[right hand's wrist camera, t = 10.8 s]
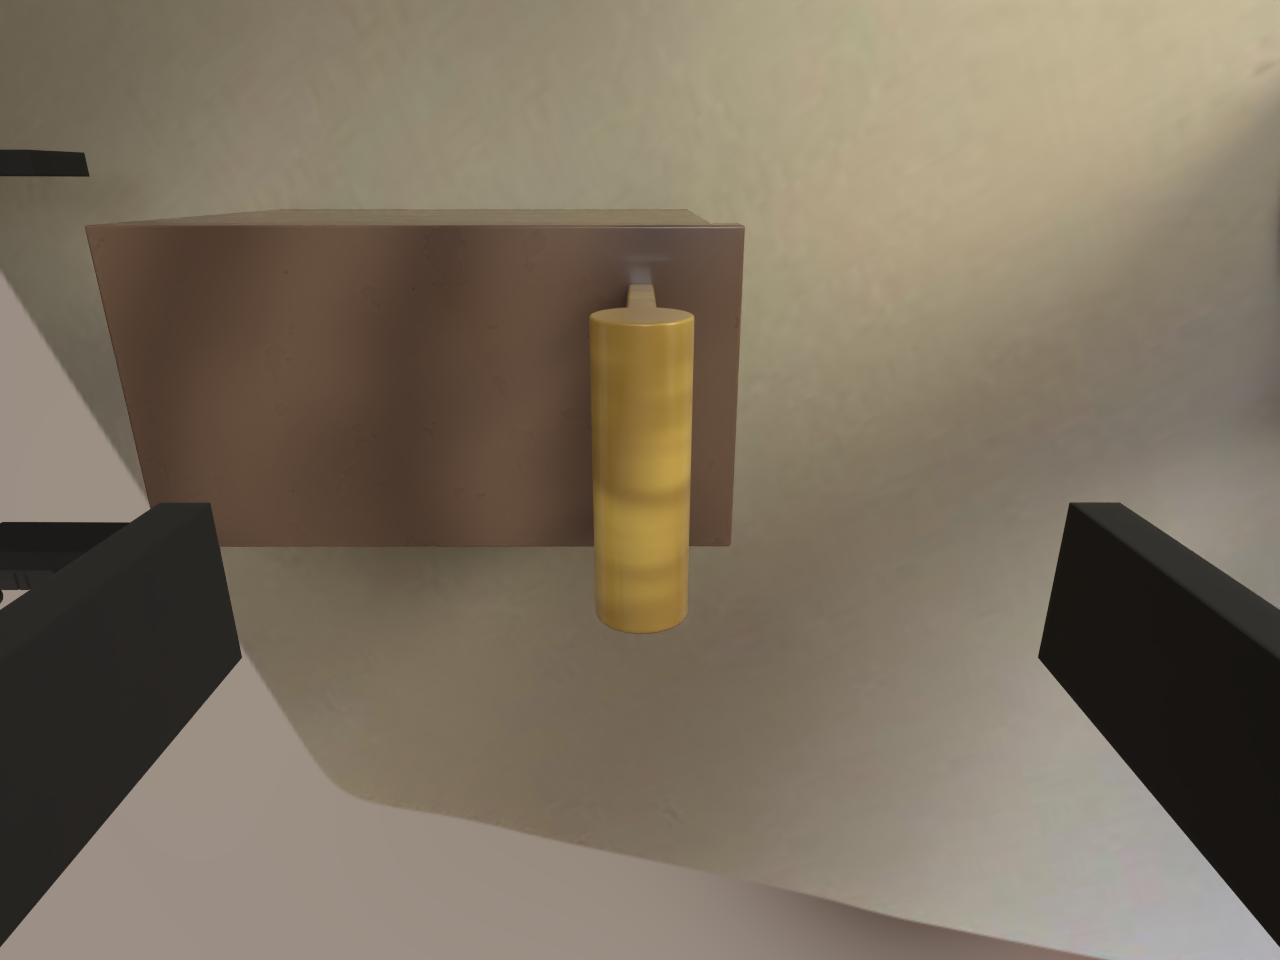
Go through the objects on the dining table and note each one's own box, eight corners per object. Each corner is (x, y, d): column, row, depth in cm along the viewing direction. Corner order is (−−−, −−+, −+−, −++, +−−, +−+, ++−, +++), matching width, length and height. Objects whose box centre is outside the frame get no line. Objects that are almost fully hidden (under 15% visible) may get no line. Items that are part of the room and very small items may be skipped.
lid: (739, 222, 22) (795, 247, 14) (726, 530, 26) (766, 688, 18) (111, 222, 22) (-181, 246, 14) (179, 531, 26) (-28, 689, 18)
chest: (688, 209, 33) (712, 222, 22) (684, 429, 36) (702, 530, 26) (279, 209, 33) (112, 223, 22) (312, 429, 36) (180, 530, 26)
